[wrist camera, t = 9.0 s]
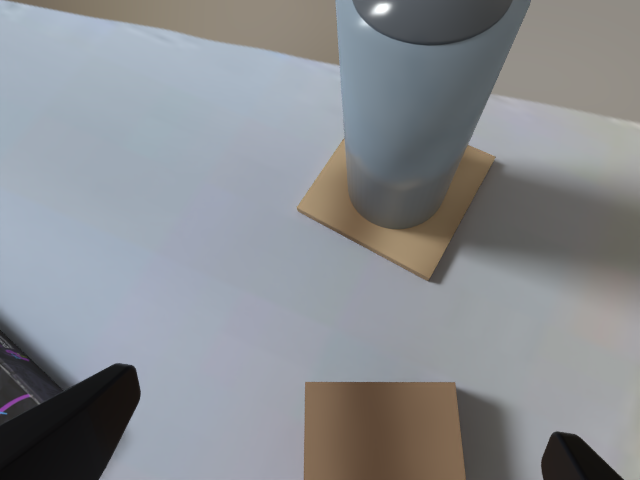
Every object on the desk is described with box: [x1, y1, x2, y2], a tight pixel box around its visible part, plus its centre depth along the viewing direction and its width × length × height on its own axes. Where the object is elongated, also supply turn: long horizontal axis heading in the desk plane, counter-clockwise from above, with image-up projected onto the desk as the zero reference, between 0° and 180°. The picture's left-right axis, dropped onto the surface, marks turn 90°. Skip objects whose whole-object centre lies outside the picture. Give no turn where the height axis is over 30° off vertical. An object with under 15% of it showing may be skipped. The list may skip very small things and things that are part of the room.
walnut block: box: [304, 382, 466, 480], centre depth 19 cm, size 7×5×3 cm
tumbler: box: [336, 0, 531, 229], centre depth 18 cm, size 6×6×13 cm
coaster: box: [297, 138, 495, 281], centre depth 25 cm, size 9×9×1 cm
